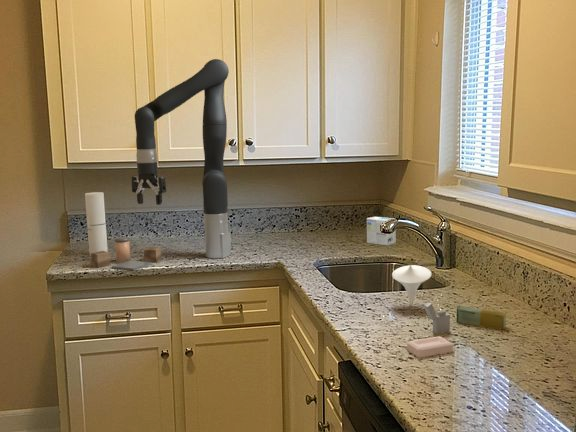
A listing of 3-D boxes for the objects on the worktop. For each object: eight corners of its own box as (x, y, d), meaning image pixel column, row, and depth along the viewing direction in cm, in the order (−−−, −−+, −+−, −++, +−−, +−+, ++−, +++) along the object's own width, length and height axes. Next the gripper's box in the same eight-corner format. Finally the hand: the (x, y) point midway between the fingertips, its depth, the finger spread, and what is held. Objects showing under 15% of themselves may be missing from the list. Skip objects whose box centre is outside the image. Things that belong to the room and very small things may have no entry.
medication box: (455, 322, 156) (455, 307, 156) (458, 319, 158) (459, 304, 158) (503, 330, 150) (504, 315, 149) (506, 327, 152) (506, 312, 151)
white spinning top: (426, 313, 163) (426, 270, 161) (387, 308, 168) (387, 266, 166) (434, 302, 173) (435, 261, 171) (397, 298, 177) (398, 258, 175)
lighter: (445, 329, 151) (446, 298, 150) (450, 331, 149) (450, 300, 148) (422, 334, 148) (423, 302, 147) (427, 336, 146) (427, 304, 145)
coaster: (151, 264, 226) (151, 262, 226) (133, 270, 217) (133, 268, 217) (130, 262, 231) (129, 260, 231) (112, 268, 222) (111, 266, 222)
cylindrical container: (102, 256, 242) (97, 194, 238) (86, 255, 244) (81, 194, 240) (111, 252, 249) (106, 192, 245) (95, 252, 250) (90, 192, 246)
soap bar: (406, 350, 139) (406, 340, 138) (440, 345, 142) (440, 335, 141) (418, 359, 134) (418, 348, 133) (453, 353, 137) (453, 342, 136)
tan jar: (133, 260, 235) (132, 237, 233) (124, 263, 230) (122, 239, 228) (122, 258, 237) (121, 236, 235) (113, 262, 232) (111, 239, 231)
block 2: (161, 259, 234) (161, 247, 233) (156, 262, 229) (155, 250, 228) (149, 259, 235) (148, 247, 234) (144, 262, 230) (143, 249, 229)
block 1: (110, 265, 227) (109, 252, 226) (98, 268, 223) (97, 254, 222) (104, 263, 230) (103, 250, 229) (91, 266, 227) (90, 253, 226)
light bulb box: (396, 243, 254) (396, 218, 253) (387, 246, 250) (387, 220, 248) (375, 240, 262) (375, 215, 260) (366, 242, 257) (366, 217, 255)
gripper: (168, 160, 226) (171, 203, 229) (138, 160, 232) (141, 202, 235) (156, 162, 220) (158, 206, 222) (125, 161, 226) (128, 204, 228)
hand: (149, 204), depth 229 cm, fingers open, 8 cm apart
